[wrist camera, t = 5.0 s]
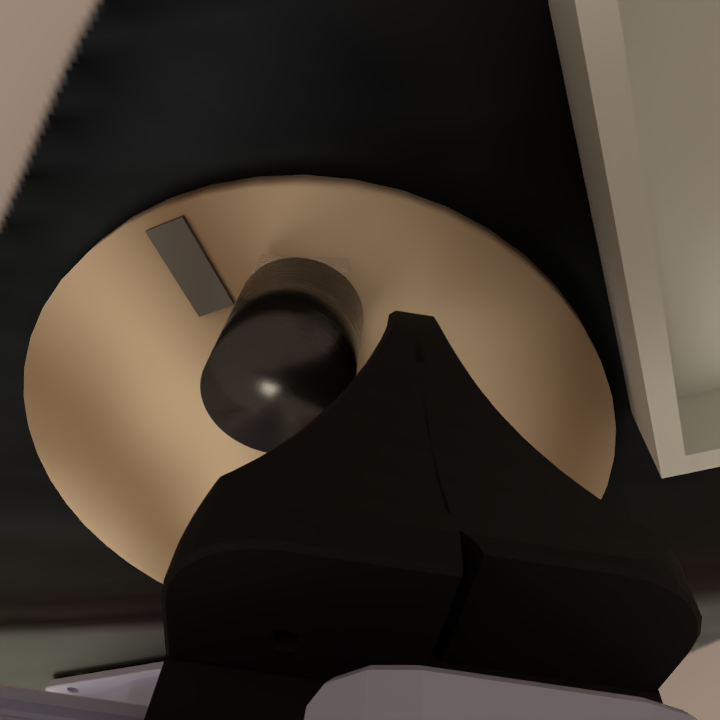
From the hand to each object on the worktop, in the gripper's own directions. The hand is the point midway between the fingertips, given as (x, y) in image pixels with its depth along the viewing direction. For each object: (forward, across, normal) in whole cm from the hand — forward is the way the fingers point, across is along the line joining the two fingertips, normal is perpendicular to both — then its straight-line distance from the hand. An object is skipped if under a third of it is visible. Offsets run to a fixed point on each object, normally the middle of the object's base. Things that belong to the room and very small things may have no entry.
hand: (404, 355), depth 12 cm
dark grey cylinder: (+2, +2, +6) cm, 7 cm away
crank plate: (+3, +2, +6) cm, 7 cm away
